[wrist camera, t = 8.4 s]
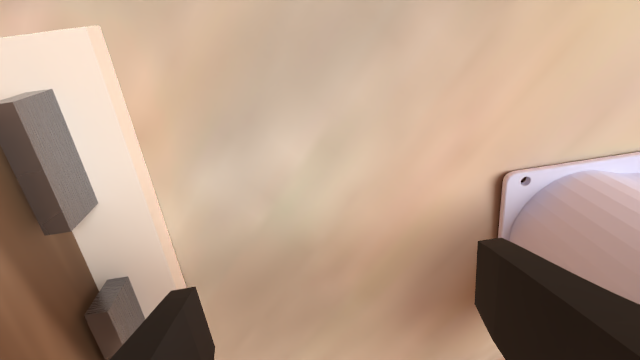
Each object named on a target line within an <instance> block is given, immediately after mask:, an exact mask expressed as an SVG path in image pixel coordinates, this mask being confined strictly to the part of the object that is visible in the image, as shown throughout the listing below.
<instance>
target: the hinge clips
mask: <svg viewBox="0 0 640 360" xmlns="http://www.w3.org/2000/svg"><path fill="white" fill-rule="evenodd" d="M0 145H1V147H2V149H3V152H4V154H5V156H6V158H7V160H8V162H9V164H10V166H11V168H12V170H13V172H14V174H15V176H16V178H17V180H18V182H19V184H20V186H21V188H22V190H23V192H24V195H25V197H26V199H27V201H28V203H29V205H30V207H31V209H32V211H33V213H34V215H35V217H36V219H37V221H38V223H39V225H40V227H41V229H42V231H43V233H44V235H45V236H46V235H53V234H59V233H66V232H71V231H72V230H73V229H74V228H75V227H76V226H77V225H78V224H79V223H80V222H81V221H82V220H83V219H84V218H85V217H86V216H87V215H88V214H89V213H90V212H91V210H92V209H93V208H94V207H95V206H96V205H97V204H98V201H97V198H96V196H95V193H94V191H93V188H92V186H91V183H90V181H89V178H88V176H87V173H86V171H85V169H84V166H83V164H82V161H81V159H80V156H79V154H78V151H77V149H76V146H75V144H74V141H73V139H72V136H71V134H70V131H69V129H68V126H67V124H66V121H65V119H64V117H63V114H62V112H61V109H60V107H59V104H58V102H57V99H56V97H55V94H54V92H53V89H47V90H40V91H32V92H25V93H22V94H19V95H16V96H13V97H10V98H6V99H3V100H0ZM84 317H85V319H86V321H87V323H88V326H89V328H90V330H91V332H92V334H93V336H94V338H95V340H96V342H97V344H98V346H99V348H100V350H101V352H102V354H103V356H104V358H105V360H110V359H111V357H112V356H113V355H114V354H115V353H116V352H117V351H118V350H119V349H120V347H121V346H122V345H123V344H124V343H125V342H126V341H127V340H128V338H129V337H130V336H131V335H132V334H133V333H134V332H135V331H136V329H137V328H138V327H139V326H140V325H141V324H142V323H143V321H144V320H145V317H144V315H143V312H142V310H141V307H140V305H139V302H138V300H137V297H136V295H135V292H134V290H133V287H132V285H131V282H130V280H129V277H128V276H127V277H121V278H114V279H108V280H106V282H105V284H104V285H103V287H102V288H101V290H100V291H99V293H98V294H97V296H96V298H95V299H94V301H93V302H92V304H91V305H90V307H89V308H88V310H87V311H86V313H85V315H84Z"/></svg>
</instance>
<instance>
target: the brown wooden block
mask: <svg viewBox="0 0 640 360" xmlns="http://www.w3.org/2000/svg"><path fill="white" fill-rule="evenodd" d="M98 293H99V290H98V288H97V286H96V283H95V281H94V279H93V277H92V274H91V272H90V270H89V268H88V266H87V263H86V261H85V259H84V257H83V254H82V252H81V250H80V248H79V246H78V243H77V241H76V239H75V237H74V234H73V232H72V231H71V232H66V233H59V234H53V235H46V236H45V235H44V233H43V231H42V229H41V227H40V225H39V223H38V221H37V219H36V217H35V215H34V213H33V211H32V209H31V207H30V205H29V203H28V201H27V199H26V197H25V195H24V192H23V190H22V188H21V186H20V184H19V182H18V180H17V178H16V176H15V174H14V172H13V170H12V168H11V166H10V164H9V162H8V160H7V158H6V156H5V154H4V152H3V149H2V147H1V145H0V360H105V358H104V356H103V354H102V352H101V350H100V348H99V346H98V344H97V342H96V340H95V338H94V336H93V334H92V332H91V330H90V328H89V326H88V323H87V321H86V319H85V317H84V315H85V313H86V311H87V310H88V308H89V307H90V305H91V304H92V302H93V301H94V299H95V298H96V296H97V294H98Z"/></svg>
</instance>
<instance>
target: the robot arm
mask: <svg viewBox="0 0 640 360" xmlns="http://www.w3.org/2000/svg"><path fill="white" fill-rule="evenodd" d="M524 177H526V180H525V181H524V182H522V183H521V180H522V179H523V178H524ZM475 305H476V307H477V310H478V312H479V314H480V316H481V318H482V320H483V322H484V324H485V326H486V328H487V330H488V332H489V334H490V336H491V337H492V339H493V341H494V343H495V344H496V346H497V347H498V349H499V350H500V352H501V353H502V355H503V357H504V358H505V360H640V152H635V153H628V154H622V155H615V156H609V157H602V158H595V159H589V160H582V161H576V162H569V163H563V164H556V165H550V166H543V167H536V168H530V169H523V170H517V171H512V172H509V173H508V174H506V175H505V177H504V179H503V184H502V196H501V208H500V220H499V232H498V238H495V239H489V240H483V241H478V250H477V269H476V289H475ZM214 353H215V346H214V343H213V339H212V336H211V333H210V330H209V327H208V324H207V321H206V318H205V315H204V312H203V309H202V306H201V302H200V299H199V296H198V293H197V290H196V287H191V288H184V289H178V290H172V291H170V292H169V293H168V294H167V295H166V296H165V298H164V299H163V300H162V301H161V302H160V303H159V304H158V305H157V307H156V308H155V309H154V310H153V311H152V312H151V313H150V315H149V316H148V317H147V318H146V319H145V320H144V321H143V323H142V324H141V325H140V326H139V327H138V328H137V329H136V331H135V332H134V333H133V334H132V335H131V336H130V337H129V338H128V340H127V341H126V342H125V343H124V344H123V345H122V346H121V347H120V349H119V350H118V351H117V352H116V353H115V354H114V355H113V356H112V357H111V359H110V360H214Z"/></svg>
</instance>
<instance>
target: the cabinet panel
mask: <svg viewBox="0 0 640 360" xmlns="http://www.w3.org/2000/svg"><path fill="white" fill-rule="evenodd" d="M47 89H53V92H54V94H55V97H56V99H57V102H58V104H59V107H60V109H61V112H62V114H63V117H64V119H65V121H66V124H67V126H68V129H69V131H70V134H71V136H72V139H73V141H74V144H75V146H76V149H77V151H78V154H79V156H80V159H81V161H82V164H83V166H84V169H85V171H86V173H87V176H88V178H89V181H90V183H91V186H92V188H93V191H94V193H95V196H96V198H97V201H98V204H97V205H96V206H95V207H94V208H93V209H92V210H91V212H90V213H89V214H88V215H87V216H86V217H85V218H84V219H83V220H82V221H81V222H80V223H79V224H78V225H77V226H76V227H75V228H74V229H73V230H72V232H73V234H74V237H75V239H76V241H77V243H78V246H79V248H80V250H81V252H82V254H83V257H84V259H85V261H86V263H87V266H88V268H89V270H90V272H91V274H92V277H93V279H94V281H95V283H96V286H97V288H98V290H99V291H100V290H101V288H102V287H103V285H104V284H105V282H106V280H108V279H114V278H121V277H127V276H128V277H129V280H130V282H131V285H132V287H133V290H134V292H135V295H136V297H137V300H138V302H139V305H140V307H141V310H142V312H143V315H144V317H145V319H146V318H147V317H148V316H149V315H150V313H151V312H152V311H153V310H154V309H155V308H156V307H157V305H158V304H159V303H160V302H161V301H162V300H163V299H164V298H165V296H166V295H167V294H168V293H169V292H170V291H172V290H178V289H184V288H187V287H186V284H185V281H184V278H183V275H182V272H181V269H180V266H179V263H178V260H177V257H176V254H175V251H174V248H173V245H172V242H171V239H170V236H169V233H168V230H167V227H166V224H165V221H164V218H163V215H162V212H161V209H160V206H159V203H158V200H157V197H156V194H155V191H154V188H153V185H152V182H151V179H150V176H149V173H148V170H147V167H146V164H145V161H144V158H143V154H142V151H141V148H140V145H139V142H138V139H137V136H136V133H135V130H134V127H133V124H132V121H131V118H130V115H129V112H128V109H127V106H126V103H125V100H124V97H123V94H122V91H121V88H120V85H119V82H118V79H117V76H116V73H115V70H114V67H113V64H112V61H111V58H110V55H109V52H108V49H107V46H106V43H105V40H104V37H103V34H102V31H101V28H100V25H98V26H85V27H77V28H69V29H62V30H54V31H46V32H39V33H31V34H23V35H16V36H8V37H1V38H0V100H3V99H6V98H10V97H13V96H16V95H19V94H22V93H25V92H32V91H40V90H47Z"/></svg>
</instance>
